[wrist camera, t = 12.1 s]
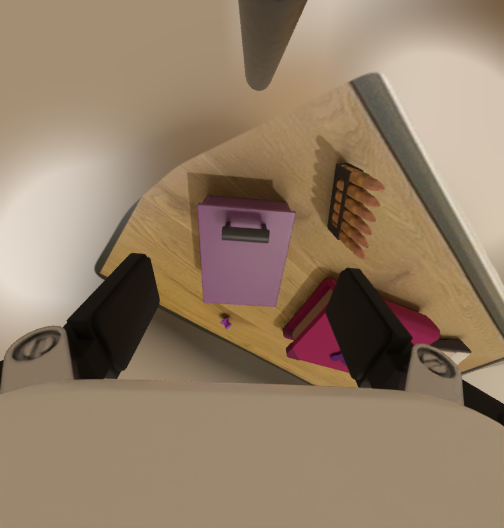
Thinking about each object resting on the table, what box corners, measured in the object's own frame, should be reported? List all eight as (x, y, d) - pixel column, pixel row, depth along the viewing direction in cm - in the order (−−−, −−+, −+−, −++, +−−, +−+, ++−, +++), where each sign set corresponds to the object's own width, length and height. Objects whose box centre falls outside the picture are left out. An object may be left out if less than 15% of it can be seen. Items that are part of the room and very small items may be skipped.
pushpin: (223, 313, 49) (221, 323, 47) (233, 317, 50) (233, 327, 48) (219, 318, 50) (217, 328, 48) (230, 322, 51) (228, 332, 49)
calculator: (418, 348, 52) (475, 354, 52) (408, 334, 55) (461, 339, 56) (396, 370, 58) (447, 376, 58) (389, 356, 61) (437, 362, 62)
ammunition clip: (337, 227, 37) (370, 264, 27) (327, 228, 37) (355, 265, 27) (348, 162, 31) (395, 179, 21) (336, 163, 31) (377, 181, 21)
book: (328, 273, 43) (341, 298, 36) (422, 310, 49) (448, 337, 43) (280, 331, 53) (284, 359, 47) (363, 356, 60) (376, 382, 54)
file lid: (198, 202, 27) (189, 215, 24) (295, 211, 28) (302, 224, 24) (204, 300, 38) (198, 320, 34) (275, 304, 38) (278, 324, 34)
